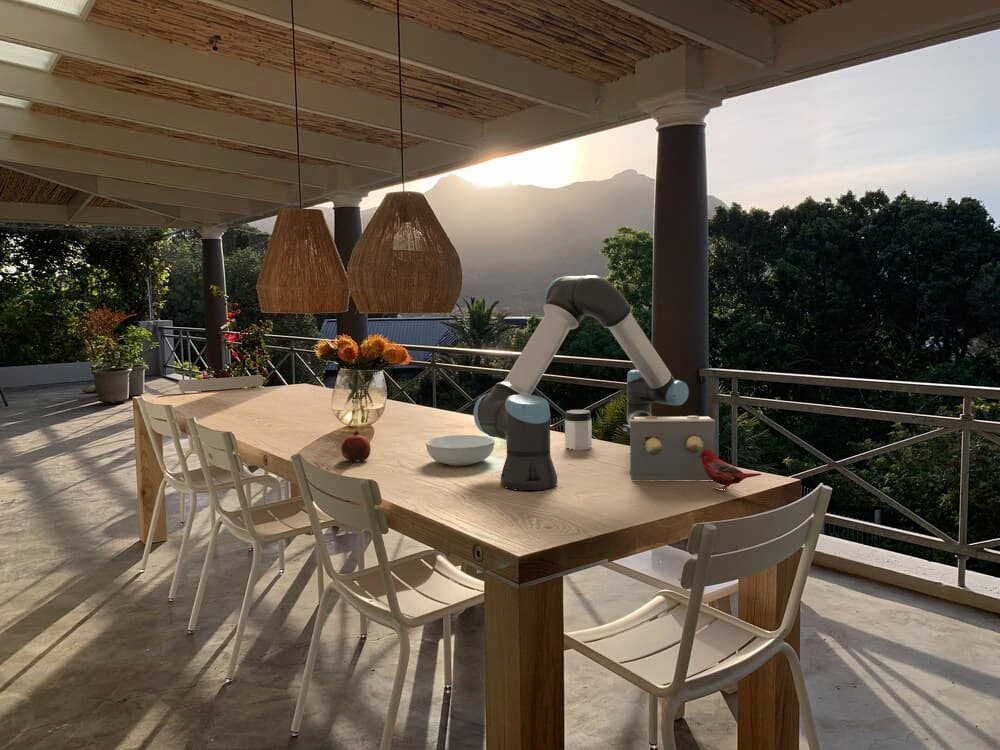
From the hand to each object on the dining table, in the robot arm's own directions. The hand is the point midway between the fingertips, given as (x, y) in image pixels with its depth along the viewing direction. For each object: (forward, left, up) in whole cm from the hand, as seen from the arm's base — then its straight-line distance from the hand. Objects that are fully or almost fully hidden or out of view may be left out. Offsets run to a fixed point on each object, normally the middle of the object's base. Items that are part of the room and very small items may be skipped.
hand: (650, 440), depth 199 cm
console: (0, -6, -10) cm, 12 cm away
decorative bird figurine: (-5, -24, -10) cm, 26 cm away
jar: (+20, +36, -10) cm, 42 cm away
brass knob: (-4, -2, -2) cm, 5 cm away
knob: (+4, -10, -2) cm, 11 cm away
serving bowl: (-17, +55, -10) cm, 58 cm away
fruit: (-33, +84, -10) cm, 91 cm away
